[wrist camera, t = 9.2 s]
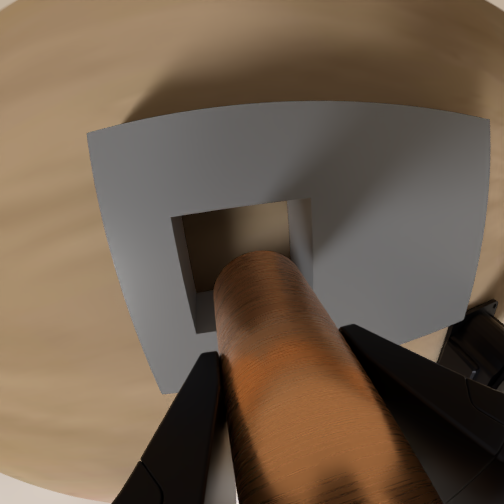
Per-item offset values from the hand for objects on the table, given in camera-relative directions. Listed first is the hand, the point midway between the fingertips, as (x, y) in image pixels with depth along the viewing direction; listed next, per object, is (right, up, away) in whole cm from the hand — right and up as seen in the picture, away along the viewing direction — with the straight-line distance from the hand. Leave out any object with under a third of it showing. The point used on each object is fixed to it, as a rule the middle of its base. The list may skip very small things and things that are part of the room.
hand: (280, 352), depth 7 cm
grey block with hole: (+3, +4, +8) cm, 9 cm away
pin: (0, +1, +3) cm, 3 cm away
